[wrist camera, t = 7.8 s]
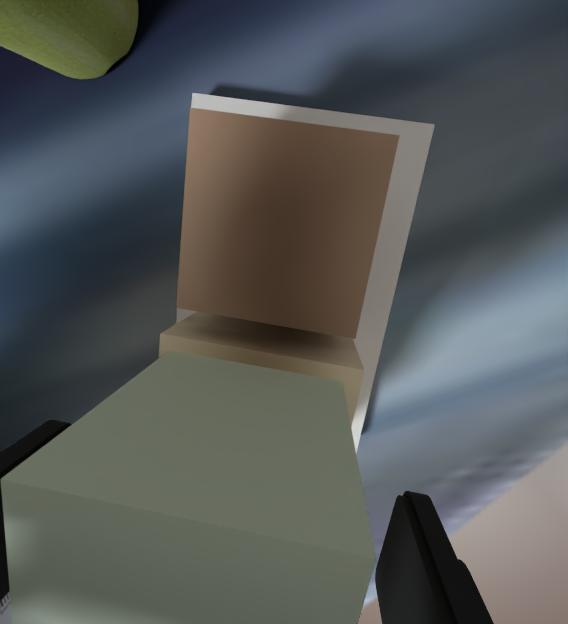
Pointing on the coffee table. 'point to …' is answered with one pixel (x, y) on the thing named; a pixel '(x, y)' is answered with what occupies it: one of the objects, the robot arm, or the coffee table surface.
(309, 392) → the sage block
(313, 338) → the maple base
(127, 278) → the coffee table surface
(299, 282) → the walnut cube
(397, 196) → the board
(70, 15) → the plant pot
